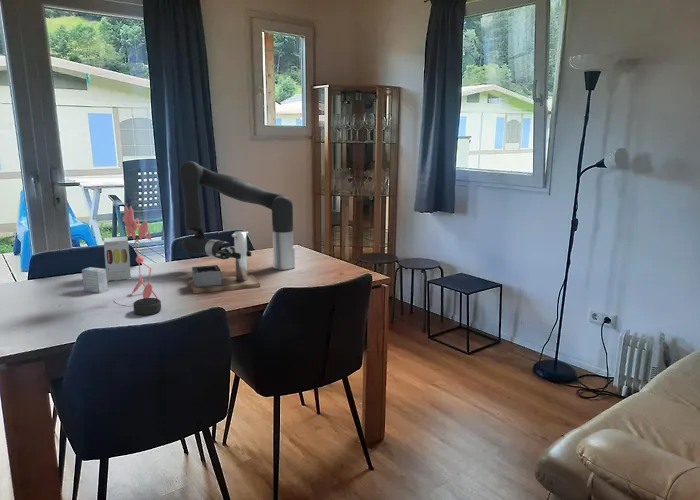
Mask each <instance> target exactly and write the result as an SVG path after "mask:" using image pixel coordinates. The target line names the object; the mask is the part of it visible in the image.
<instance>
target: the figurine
mask: <svg viewBox="0 0 700 500" xmlns="http://www.w3.org/2000/svg"><path fill="white" fill-rule="evenodd" d="M122 221H123V223H124V225H125V230H124V233H126V234H127V238H132V239H133V240H135V241H134V242H133V245H134V248H135V251H136V252H135V253H136V257H135V262H137V263H138V271H139V272H138V273H139V274H138V275H139V280H138V282H137V283H136V285H135V286H134V288H133V289H132V292H131V294H135V292H136V291H137V290H138V289H139V287H141V284H142V286H143V291H142V299H143V298H151V295H153V296H154V298H157V299H159V298H158V296H157V294H156V293H155V291H154V290H153V285H152V284H151V283H150V281H151V273H152V272H151V271H152V268H151V267H150V266H149V265H147V264H146V263H144V257H143V256H142V255H139V252H138V248H137V244H136V243H137V242H139V241H141V240H142V239H144V237H145V238H147V240H150V241H152V236H151V233H150V230H149V224H148V221H147V220H144V221H143V222H142V223H141V224H140V221H139V217H137V218H135V217H134V211H133V208H132V206H131V205H130V206H129V208H128V206H127V205H124V214H123V215H122ZM135 230H136V231H137V235H138V237H139V238H138V239H137V240H136V231H135ZM147 235H148V236H147ZM141 264H142V265H144V266H146V267H147V268H148V269H149V272H148V274H149V275H148V283H147V284H145V283H144V278H143V277H141V266H140V265H141ZM114 300H115V297H114V299H113V303H114V304H116V305H119V306H121V304H120V303H118V302H116V301H114ZM122 307H126V304H125V305H124V304H122Z"/></svg>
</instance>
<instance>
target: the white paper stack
mask: <svg viewBox="0 0 700 500" xmlns="http://www.w3.org/2000/svg"><path fill="white" fill-rule="evenodd" d="M81 277H82V284H83V286H82V287H83V291H84V292H90V291H91V293H98V294H99V293H100V294H101V293H103V291H104V292H106V291H108V290H109V287H108V281H107V277H106V268H101V267H93V266H92V267H91V266H90V267H86V268H83V269H82V270H81Z"/></svg>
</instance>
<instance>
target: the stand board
mask: <svg viewBox="0 0 700 500" xmlns="http://www.w3.org/2000/svg"><path fill="white" fill-rule="evenodd" d="M221 284H222V286H212V287H202V288H195V286H194V283H193V279H192V280H191V279H190V280H189V285H190V288H191V290H192V293H193V294H200V293H201V294H203V293H214V292H222V291H232V290H233V291H235V290H242V289H251V288H253V289H254V288H260V287H261V282H260V281H259V280H258V279H257V278H256V277H255V276H254V275H253V274H248V281H245V282H237V281H236V275H235V276H225V277H222V276H221Z"/></svg>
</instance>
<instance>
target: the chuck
mask: <svg viewBox="0 0 700 500" xmlns="http://www.w3.org/2000/svg"><path fill="white" fill-rule="evenodd" d="M191 273H192V275H191V276H192V277H191V278H192V280H193V283H194V286H195V288H202V287H212V286H222V284H221V278H222V271H221V269H220V268H219V266H218V264H214V265H201V266H200V265H199V266H191Z"/></svg>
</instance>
